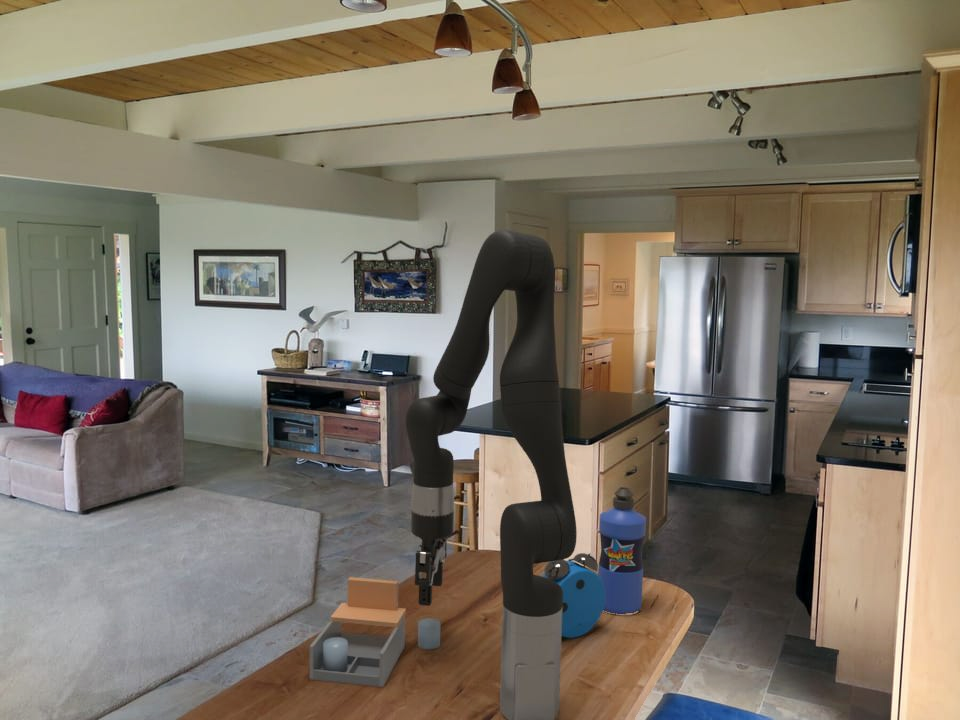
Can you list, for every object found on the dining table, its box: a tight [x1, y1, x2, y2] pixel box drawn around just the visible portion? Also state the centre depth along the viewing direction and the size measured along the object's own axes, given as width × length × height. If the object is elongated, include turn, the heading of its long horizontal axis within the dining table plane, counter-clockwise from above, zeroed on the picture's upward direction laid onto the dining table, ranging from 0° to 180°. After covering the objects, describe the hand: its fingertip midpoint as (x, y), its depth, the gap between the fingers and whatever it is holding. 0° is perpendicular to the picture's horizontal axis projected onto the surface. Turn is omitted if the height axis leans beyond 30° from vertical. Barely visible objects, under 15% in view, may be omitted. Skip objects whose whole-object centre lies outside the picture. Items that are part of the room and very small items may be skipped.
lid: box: [330, 576, 407, 628], centre depth 139 cm, size 6×12×6 cm, turn 81°
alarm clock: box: [541, 552, 605, 639], centre depth 149 cm, size 13×6×15 cm, turn 122°
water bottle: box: [597, 486, 647, 614], centre depth 161 cm, size 9×9×25 cm
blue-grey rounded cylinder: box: [417, 617, 441, 650], centre depth 142 cm, size 4×4×5 cm
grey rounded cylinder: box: [323, 637, 348, 672], centre depth 131 cm, size 4×4×5 cm
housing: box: [309, 616, 406, 688], centre depth 135 cm, size 14×12×7 cm
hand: (430, 594), depth 142 cm, fingers open, 8 cm apart
